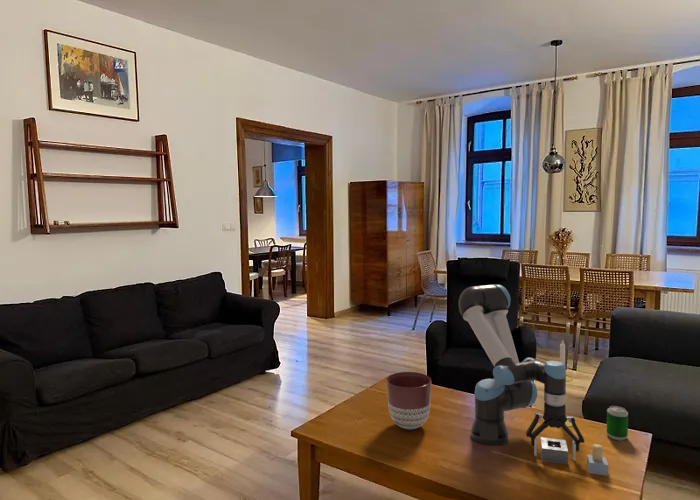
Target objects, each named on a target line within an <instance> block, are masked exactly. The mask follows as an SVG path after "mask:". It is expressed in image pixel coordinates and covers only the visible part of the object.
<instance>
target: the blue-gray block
mask: <svg viewBox="0 0 700 500" xmlns="http://www.w3.org/2000/svg"><path fill="white" fill-rule="evenodd" d="M603 447H604V446H603V445H601V444H597V443H594V444H592V454H590V453H589V454H586V467H587V470H588V473H589V474H592V475H599V476H607V477H608V476H609V463H608V460H607V458H606V456H604V455H603V454H604V453H603V452H604V449H603Z"/></svg>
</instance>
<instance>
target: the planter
mask: <svg viewBox="0 0 700 500" xmlns="http://www.w3.org/2000/svg"><path fill="white" fill-rule="evenodd" d="M386 390H387V392H386V393H387V402H388V403H387V405H388V406H387V407H388V411H389V415H390V417H391V419H392V421H393V422H394V423H395V425H397V427H400V428H401V429H405V430H416V429H418V428H421V427H422V426H423V425H424V424H426V422H427V420H428V418H429V415H430V410H431V401H432V400H431V399H432V394H431V393H432V378H431V377H430V376H429V375H426V374H424V373H420V372H415V371H400V372H396V373H392V374H389V375H388V376H387V377H386Z"/></svg>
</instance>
